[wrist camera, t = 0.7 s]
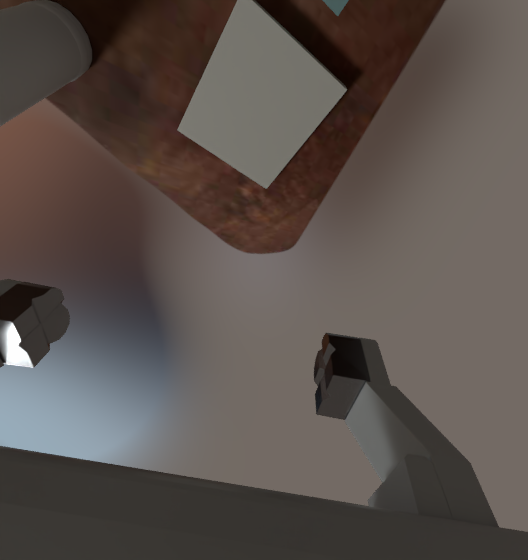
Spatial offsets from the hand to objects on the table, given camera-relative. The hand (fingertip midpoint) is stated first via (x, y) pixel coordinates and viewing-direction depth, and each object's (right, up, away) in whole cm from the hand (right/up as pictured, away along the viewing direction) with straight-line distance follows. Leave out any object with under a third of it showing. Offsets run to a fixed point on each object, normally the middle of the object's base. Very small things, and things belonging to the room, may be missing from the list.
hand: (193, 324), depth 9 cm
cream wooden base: (+1, +27, +34) cm, 43 cm away
